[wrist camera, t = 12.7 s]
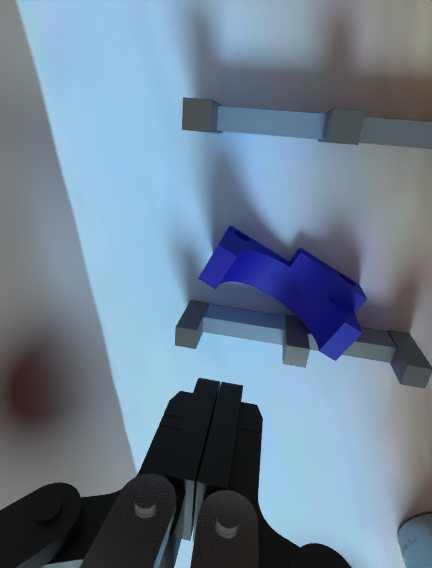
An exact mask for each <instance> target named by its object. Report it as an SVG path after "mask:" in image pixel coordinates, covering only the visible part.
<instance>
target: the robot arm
mask: <svg viewBox="0 0 432 568" xmlns="http://www.w3.org/2000/svg"><path fill="white" fill-rule="evenodd" d="M242 391H243V385H237V384H231V383H226V382H222V383H221V386H220V381H214V380H208V379H203V378H198V380H197V383H196V386H195V389H194V392H193V393H189V392H184V391H180V392H179V393H177V394H176V395H175V396H174V397H173V398H172V399H171V400H170V401H169V403H168V405H167V408H166V410H165V412H164V416H163V417H162V419H161V422H160V424H159V428H158V429H157V431H156V434H155V436H154V438H153V441H152V443H151V445H150V448H149V450H148V452H147V455H146V457H145V459H144V462H143V464H142V466H141V469H140V471H139V473H138V474H137V476H136V477H135V478H134V479H132V480H130V481H129V482H128V483H127V484H126V485H125V486H124V487H123V488H122V489H121V490H119V491H117V492H114V493H111V494H106V495H100V496H99V495H98V496H91V497H82V498H81V497H80V494H79V492H78V491H77V489H76V488H75V487H73V486H72V485H70V484H67V483H53V484H48V485H46V486H43V487H41V488H39V489H37V490H36V491H34V492H32V493H30V494H28V495H27V496H25V497H23V498H21V499H20V500H18V501H16V502H14V503H12V504H11V505H9V506H7V507H5V508H4V509H2V510H0V568H174V566H175V562H176V559H177V555H178V551H179V546H180V542H181V539H185V540H189V541H190V540H191V535H192V531H193V526H194V532H193V541H194V546H193V553H192V560H191V566H190V568H351V566H350V565H349V564H348V563H347V561H346V560H345V559H344V558H343V557H342V556H341V555H340V554H339V553H337V552H336V551H335V550H333V549H332V548H330V547H328V546H325V545H322V544H317V543H310V544H306V545H304V546H302V547H299V546H297V545H295V544H294V543H292V542H290V541H289V540H287V539H286V538H284V537H282V536H281V535H279V534H278V533H277V532H275V531H274V530H273V529H272V528H271V527H270V526H269V524H268V523H267V522H266V520H265V519H264V517H263V515H262V513H261V511H260V507H259V503H258V487H259V471H260V455H261V439H262V422H263V418H262V416H261V413H260V411H259V408H258V406H257V405H255V404H249V403H244V402H241V398H242ZM398 542H399V546H400V549H401V552H402V557H403V561H404V563H405V566H406V568H432V513H431V514H425V515H421V516H418V517H415V518H413V519H411V520H409V521H407V522H406V523H405V524H404V525H402V527H401V528H400V530H399V532H398Z"/></svg>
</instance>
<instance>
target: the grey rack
mask: <svg viewBox="0 0 432 568" xmlns="http://www.w3.org/2000/svg"><path fill="white" fill-rule="evenodd" d="M365 112H366V111H363V110H349V109H336V108H333V109H332V110H330V111H328V112H326V113H325V114H318V113H305V112H292V111H278V110H265V109H251V108H238V107H225V106H222V105H220V104H219V103H217V102H215V101H213V100H211V99H197V98H183V117H182V130H190V131H201V132H213V133H222V131H226V132H238V133H250V134H262V135H274V136H286V137H298V138H309V139H319V141H318V142H330V143H342V144H355V145H358V143H369V144H380V145H392V146H404V147H416V148H428V149H432V122H426V121H412V120H399V119H385V118H372V117H365ZM361 331H362V334H361V335H360V336H359V337H358V338H357V339H356V340H355V341H354V342H353V344H352V345H351V346H350V347H349V348H348V349H347V350H346V351H345V352H344V353H343V354H342V355H347V356H353V357H359V358H365V359H371V360H377V361H383V362H389V363H390V364H391V366H392V368H393V370H394V372H395V374H396V376H397V378H398V380H399V382H400V384H403V385H409V386H414V387H420V388H426V385H427V383H428V381H429V378H430V376H431V374H432V367H431V365H430V364H429V362H428V361H427V359H426V358H425V356H424V355H423V353H422V352H421V350H420V349H419V347H418V346H417V344H416V343H415V341H414V340H413V338H412V337H411V335H410V334H408V333H401V332H395V331H388V332H385V331H378V330H372V329H365V328H361ZM203 332H207V333H213V334H219V335H225V336H231V337H238V338H244V339H250V340H256V341H262V342H268V343H274V344H280V345H283V364H286V365H292V366H298V367H304V368H306V364H307V359H308V355H309V351H310V350H316V351H319V350H318V346H317V343H316V341H315V339H314V337H313V335H312V334H311V332H310V331H309V329H308V328H307V327H306V325H305V324H304V323H303V322H302V321H301V320H300V319H299V318H298V317H296V316H290V315H286V316H280V315H274V314H267V313H261V312H254V311H248V310H241V309H235V308H228V307H222V306H215V305H209V303H205V302H198V301H192V300H190V302H189V304H188V306H187V308H186V309H185V311H184V313H183V315H182V317H181V318H180V320H179V322H178V324H177V326H176V333H175V345H176V346H182V347H188V348H193V349H196V347H197V345H198V343H199V340H200V338H201V335H202V333H203Z"/></svg>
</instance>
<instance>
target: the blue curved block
mask: <svg viewBox="0 0 432 568" xmlns="http://www.w3.org/2000/svg"><path fill="white" fill-rule="evenodd" d="M198 279H200V280H201V281H203V282H205V283H206V284H208V285H210V286H211V287H213V288H215V289H216V288H217V287H218V286H219V285H220V284H221V283H224V282H228V281H236V282H241V283H245V284H249V285H251V286H254V287H256V288H258V289H260V290H262V291H264V292H266V293H268V294H270V295H271V296H273V297H274V298H276V299H277V300H279V301H280V302H281V303H283V304H284V305H285V306H287V307H288V308H289V309H290V310H291V311H292V312H293V313H294V314H295V315H296V316H297V317H298V318H299V319H300V320H301V321H302V322H303V323H304V324H305V325H306V327H307V328H308V329H309V331H310V332H311V334H312V335H313V337H314V339H315V341H316V343H317V346H318V350H319V351H320V352H321V353H323V354H325V355H326V356H328V357H330V358H331V359H333V360H335V361H336V360H337V359H338V358H339V357H340V356H341V355H342V354H343V353H344V352H345V351H346V350H347V349H348V348H349V347H350V346H351V345H352V344H353V342H354V341H355V340H356V339H357V338H358V337H359V336H360V335H361V334H362V331H361V328H360V326H359V323H358V321H357V319H356V316H355V314H354V313H355V312H356V311H357V310H358V308H359V307H360V306H361V305H362V304H363V303H364V302H365V301H366V300H367V298H366V296H365V294H364V292H363V290H362V289H361V287H360V285H359V284H358V283H356V282H354V281H353V280H351V279H350V278H348V277H346V276H345V275H343V274H342V273H340V272H338V271H337V270H335V269H333V268H332V267H330V266H329V265H327V264H325V263H324V262H322V261H320V260H319V259H317V258H316V257H314V256H312V255H311V254H309V253H308V252H306V251H304V250H303V249H301V248H300V249H299V250H298V251H297V253H296V254H295V255H294V257H293V258H292V259H291V261H290V262H289V261H287V260H286V259H284V258H282V257H281V256H279V255H278V254H276V253H274V252H273V251H271V250H269V249H268V248H266V247H264V246H263V245H261V244H260V243H258V242H256V241H255V240H253V239H251V238H250V237H248V236H247V235H245V234H243V233H242V232H240V231H238V230H237V229H235V228H234V227H232V226H229V228H228V230H227V231H226V233H225V235H224V236H223V238H222V240H221V241H220V243H219V245H218V246H217V248H216V250H215V251H214V253H213V255H212V256H211V258H210V260H209V261H208V263H207V265H206V267H205V268H204V270H203V272H202V273H201V275H200V277H199V278H198Z"/></svg>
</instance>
